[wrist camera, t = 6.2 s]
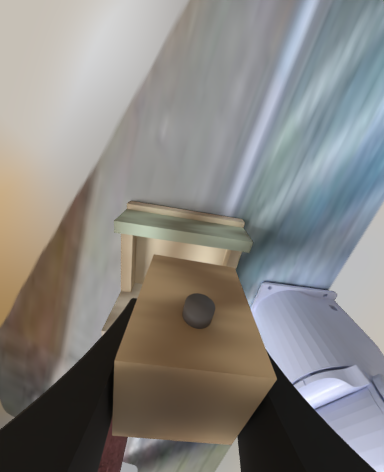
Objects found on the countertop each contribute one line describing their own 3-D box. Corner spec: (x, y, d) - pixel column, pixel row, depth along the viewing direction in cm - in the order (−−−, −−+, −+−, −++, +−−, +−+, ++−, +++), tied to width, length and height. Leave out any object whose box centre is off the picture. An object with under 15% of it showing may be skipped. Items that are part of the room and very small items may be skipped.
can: (149, 369, 29) (117, 538, 16) (130, 386, 31) (88, 546, 19) (115, 355, 27) (50, 531, 15) (97, 374, 30) (28, 541, 17)
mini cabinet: (237, 259, 11) (284, 367, 5) (214, 323, 13) (231, 444, 8) (154, 245, 10) (114, 347, 5) (146, 314, 13) (112, 435, 7)
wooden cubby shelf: (242, 219, 18) (270, 257, 12) (218, 294, 22) (229, 351, 16) (130, 200, 17) (94, 230, 11) (128, 282, 21) (101, 338, 15)
